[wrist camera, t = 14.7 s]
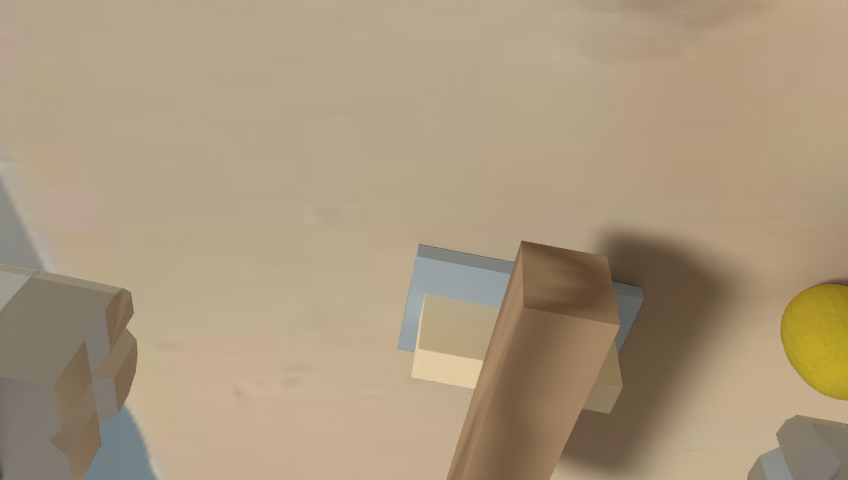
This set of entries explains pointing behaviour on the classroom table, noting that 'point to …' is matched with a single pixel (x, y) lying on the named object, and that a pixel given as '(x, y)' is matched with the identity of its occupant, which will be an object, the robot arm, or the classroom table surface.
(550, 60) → the classroom table surface
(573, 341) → the walnut bar
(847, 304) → the lemon
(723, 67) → the classroom table surface
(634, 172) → the classroom table surface
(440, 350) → the fulcrum
